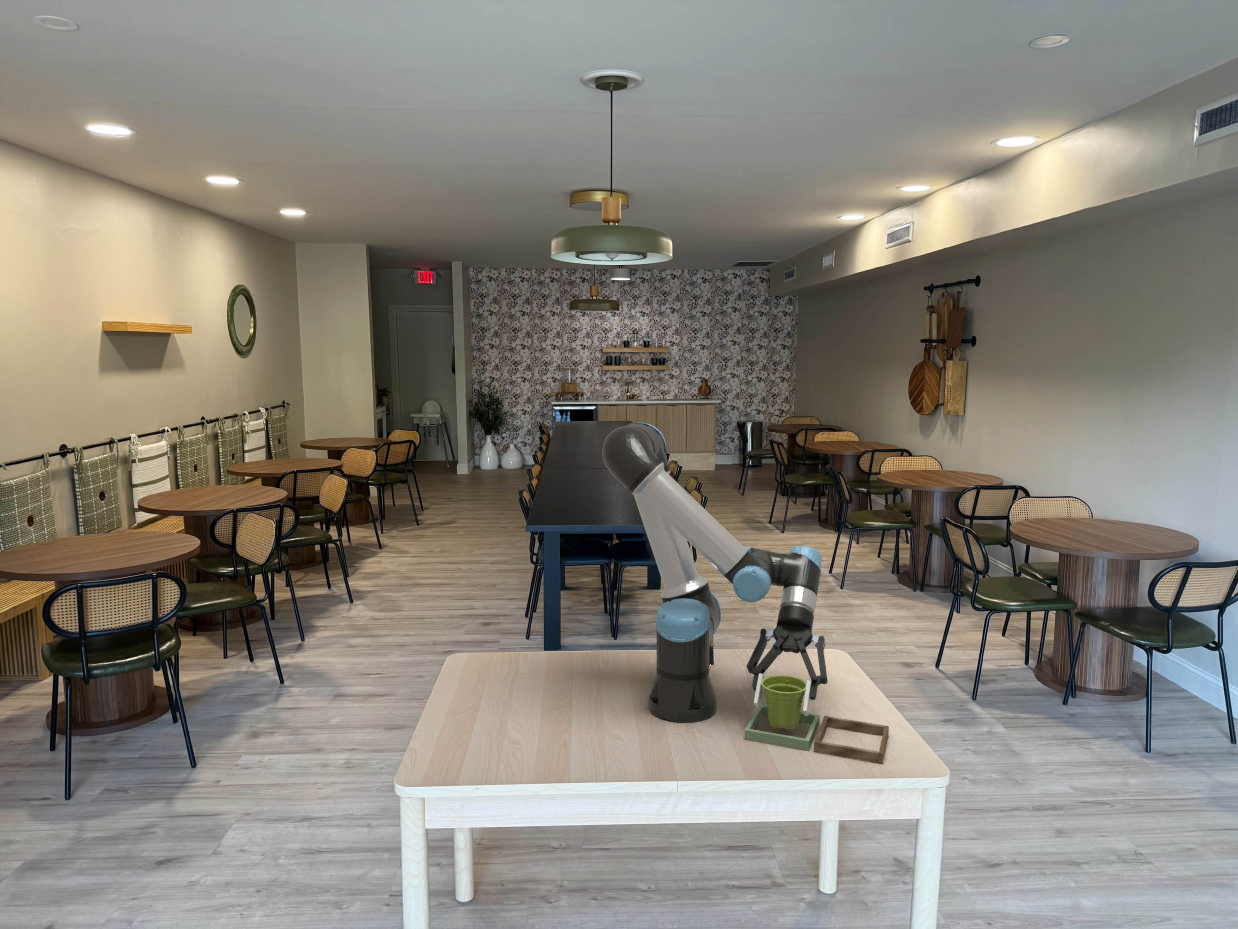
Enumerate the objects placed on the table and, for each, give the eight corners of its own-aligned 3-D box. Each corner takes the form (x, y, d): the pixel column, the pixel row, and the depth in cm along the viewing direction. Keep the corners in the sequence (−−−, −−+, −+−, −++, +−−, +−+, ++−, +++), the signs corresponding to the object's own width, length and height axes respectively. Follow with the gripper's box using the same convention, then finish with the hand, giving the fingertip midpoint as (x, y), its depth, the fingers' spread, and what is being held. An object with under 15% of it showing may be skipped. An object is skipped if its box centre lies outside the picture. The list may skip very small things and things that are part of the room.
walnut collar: (813, 751, 159) (814, 742, 159) (824, 724, 171) (824, 715, 171) (882, 764, 154) (882, 754, 154) (888, 735, 166) (888, 726, 166)
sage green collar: (744, 739, 165) (744, 730, 165) (759, 713, 177) (759, 705, 177) (808, 750, 160) (808, 741, 160) (819, 723, 172) (819, 714, 171)
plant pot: (751, 721, 169) (751, 681, 168) (782, 709, 175) (782, 671, 174) (784, 737, 162) (785, 696, 161) (816, 725, 167) (817, 685, 166)
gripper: (849, 625, 176) (837, 725, 163) (750, 614, 184) (731, 708, 172) (847, 609, 170) (834, 710, 158) (744, 598, 179) (724, 693, 166)
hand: (780, 709), depth 165 cm, fingers closed on plant pot, 9 cm apart
